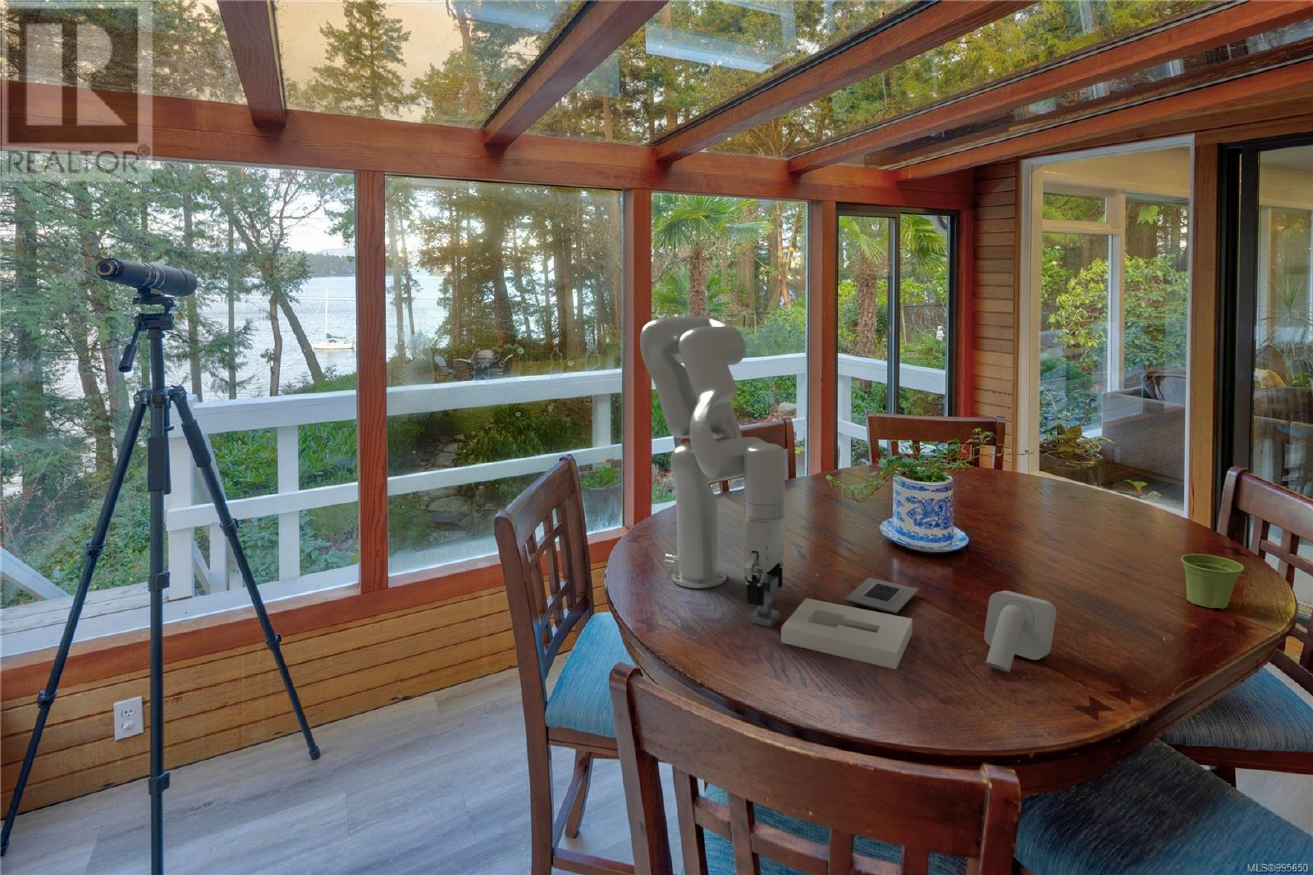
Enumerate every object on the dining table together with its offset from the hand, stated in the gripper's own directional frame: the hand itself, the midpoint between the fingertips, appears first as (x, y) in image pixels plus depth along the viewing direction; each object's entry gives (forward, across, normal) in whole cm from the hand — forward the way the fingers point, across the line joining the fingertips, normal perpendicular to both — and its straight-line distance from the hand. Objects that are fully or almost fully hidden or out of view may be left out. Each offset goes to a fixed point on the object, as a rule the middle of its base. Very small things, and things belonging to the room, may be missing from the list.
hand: (765, 595), depth 128 cm
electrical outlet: (+6, -19, +18) cm, 27 cm away
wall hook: (+6, -5, +42) cm, 42 cm away
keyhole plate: (+5, 0, +16) cm, 17 cm away
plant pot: (+6, -46, +74) cm, 87 cm away
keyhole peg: (+5, 0, 0) cm, 5 cm away
